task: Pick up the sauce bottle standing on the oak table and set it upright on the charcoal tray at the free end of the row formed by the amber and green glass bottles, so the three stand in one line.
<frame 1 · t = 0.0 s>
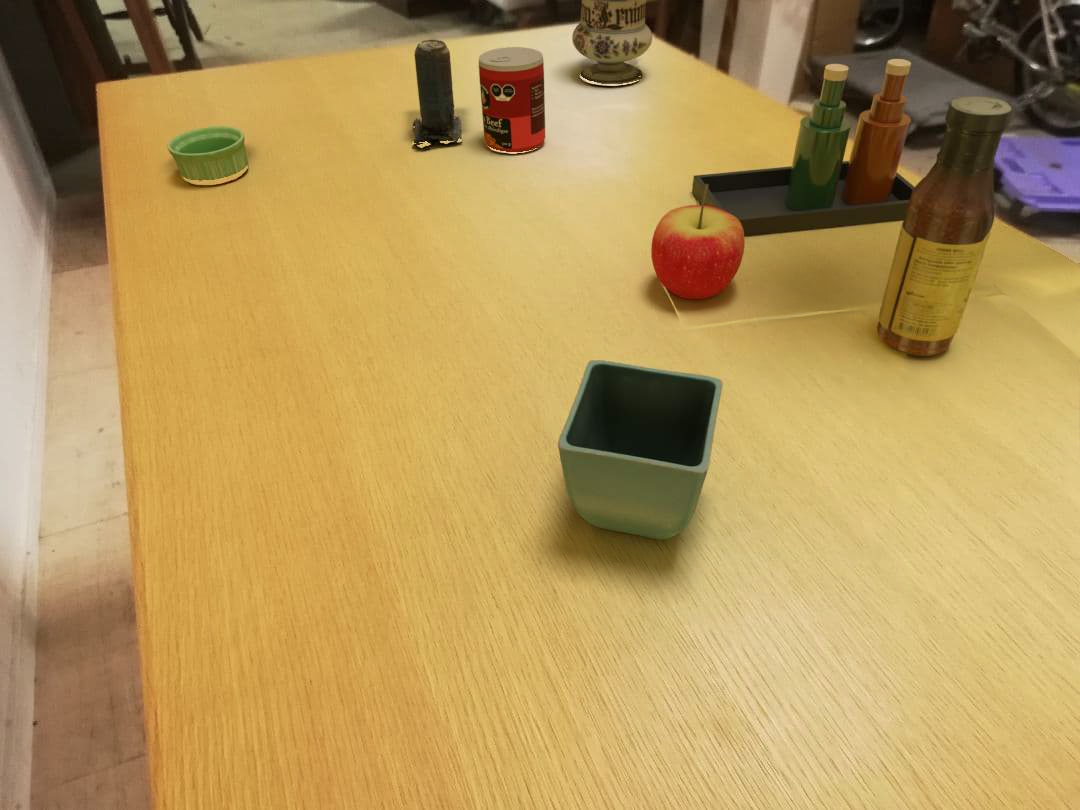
dark pillar on base: (437, 137, 106), on the table
amber bottle: (864, 198, 87), resting on tray
apothecary jar: (611, 78, 122), on the table
tray: (803, 207, 87), on the table
flower pot: (635, 511, 54), on the table
sauce bottle: (909, 339, 68), on the table
apple: (692, 292, 74), on the table
ramekin: (217, 175, 98), on the table
canned food: (515, 145, 103), on the table
green bottle: (808, 203, 86), resting on tray
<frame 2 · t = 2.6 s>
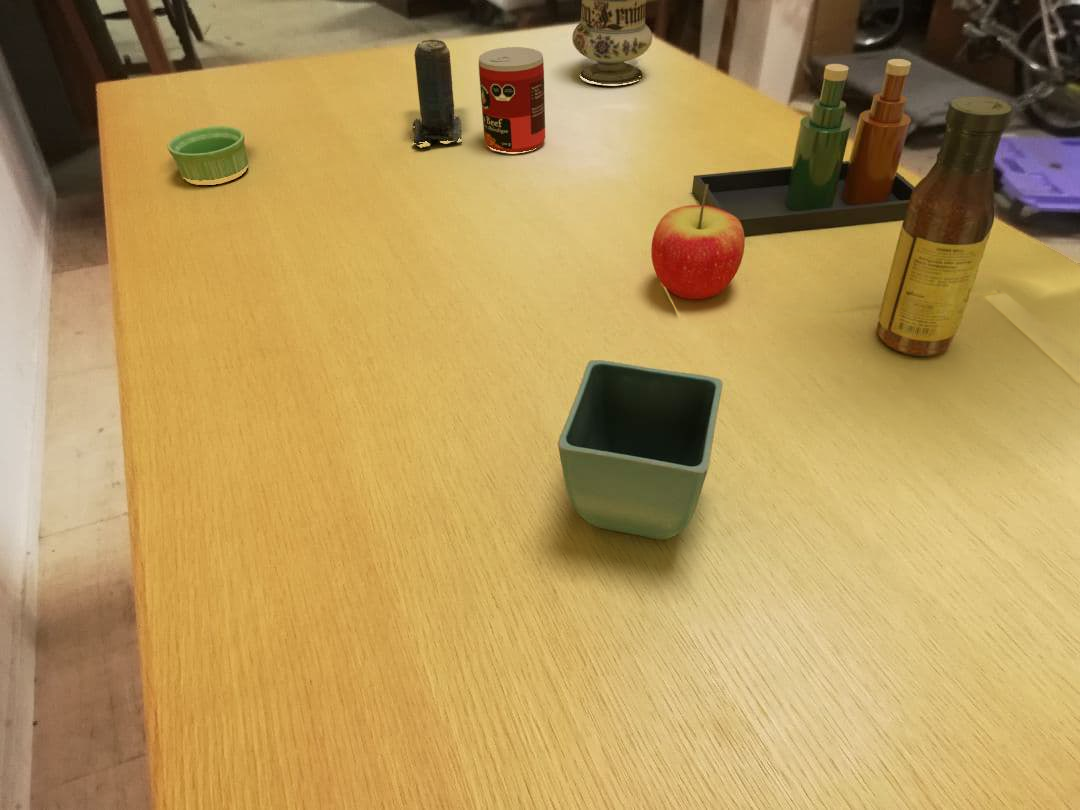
nothing on the table moved.
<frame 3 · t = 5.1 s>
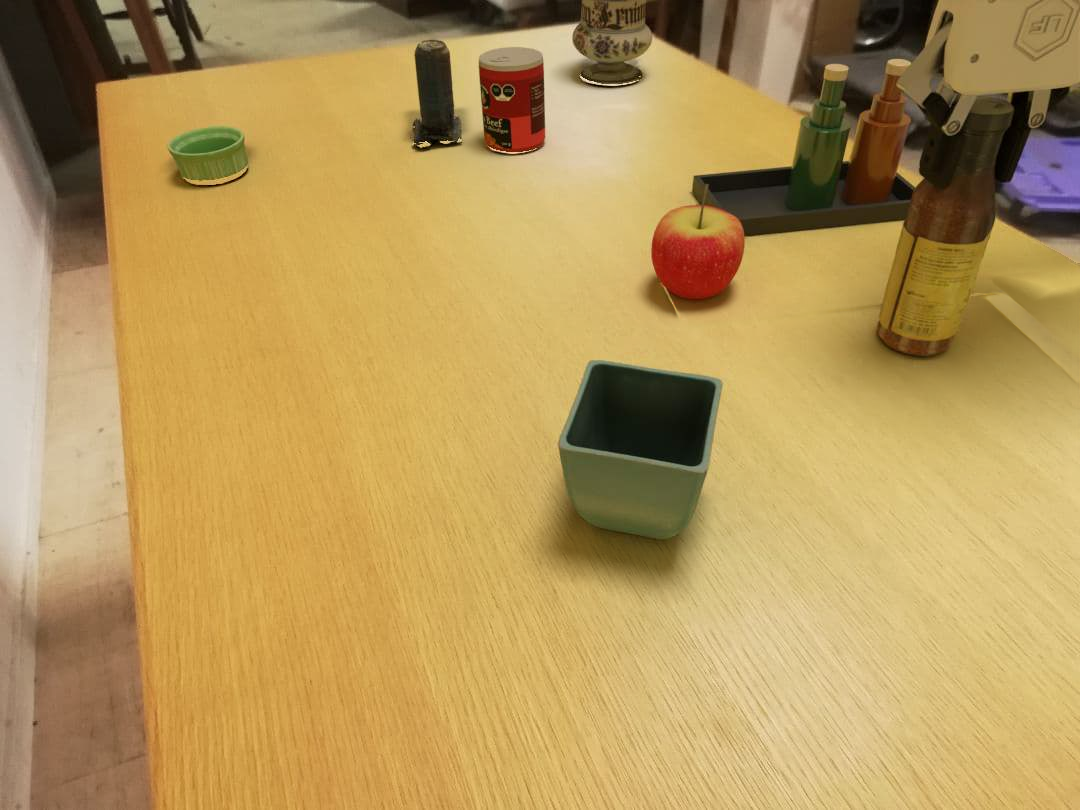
hand: (964, 175, 58), 15 cm above the table, tool pointing down, fingers closed on sauce bottle, 4 cm apart
sauce bottle: (909, 339, 68), on the table, touching gripper
everything else where it was.
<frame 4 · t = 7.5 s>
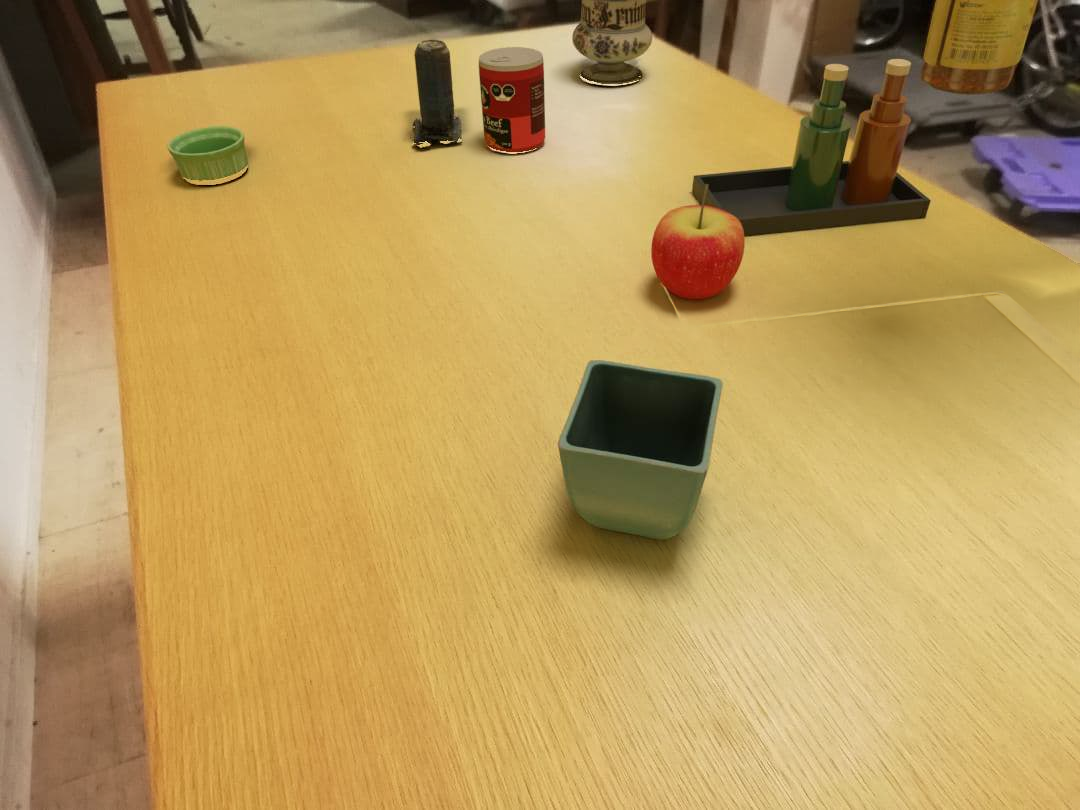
sauce bottle: (960, 85, 57), point 20 cm above the table, touching gripper
everything else where it was.
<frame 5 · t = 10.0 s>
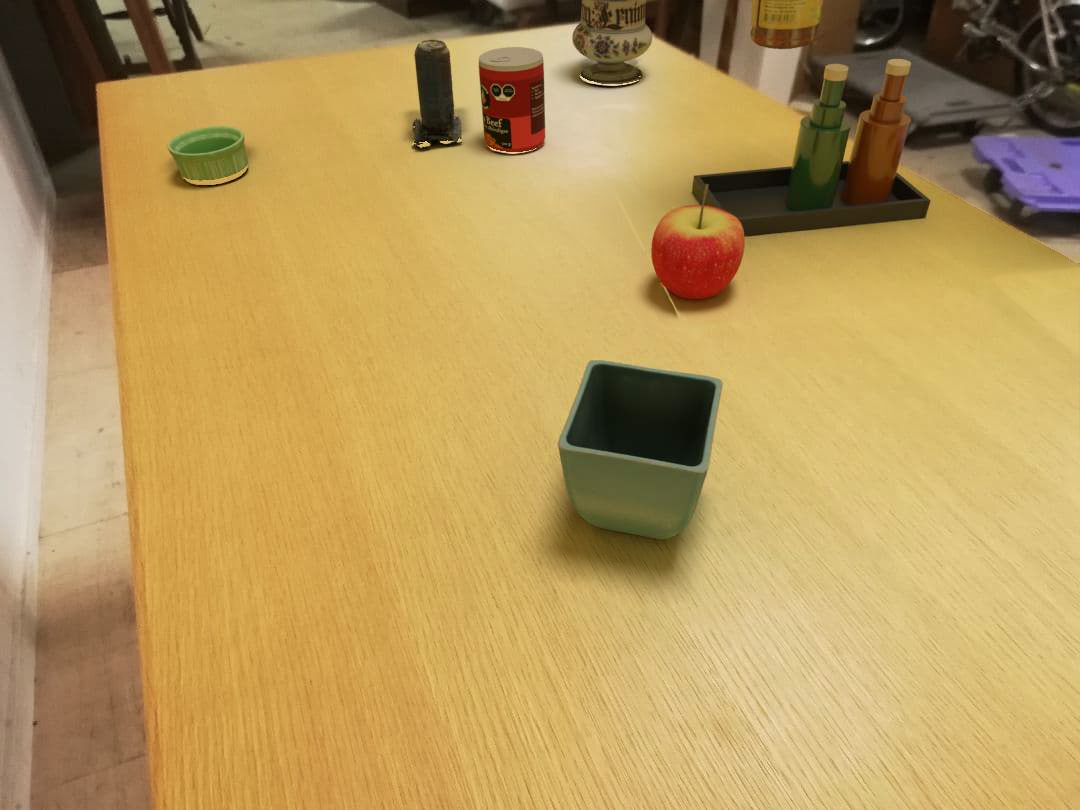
sauce bottle: (780, 44, 74), point 18 cm above the table, touching gripper
everything else where it was.
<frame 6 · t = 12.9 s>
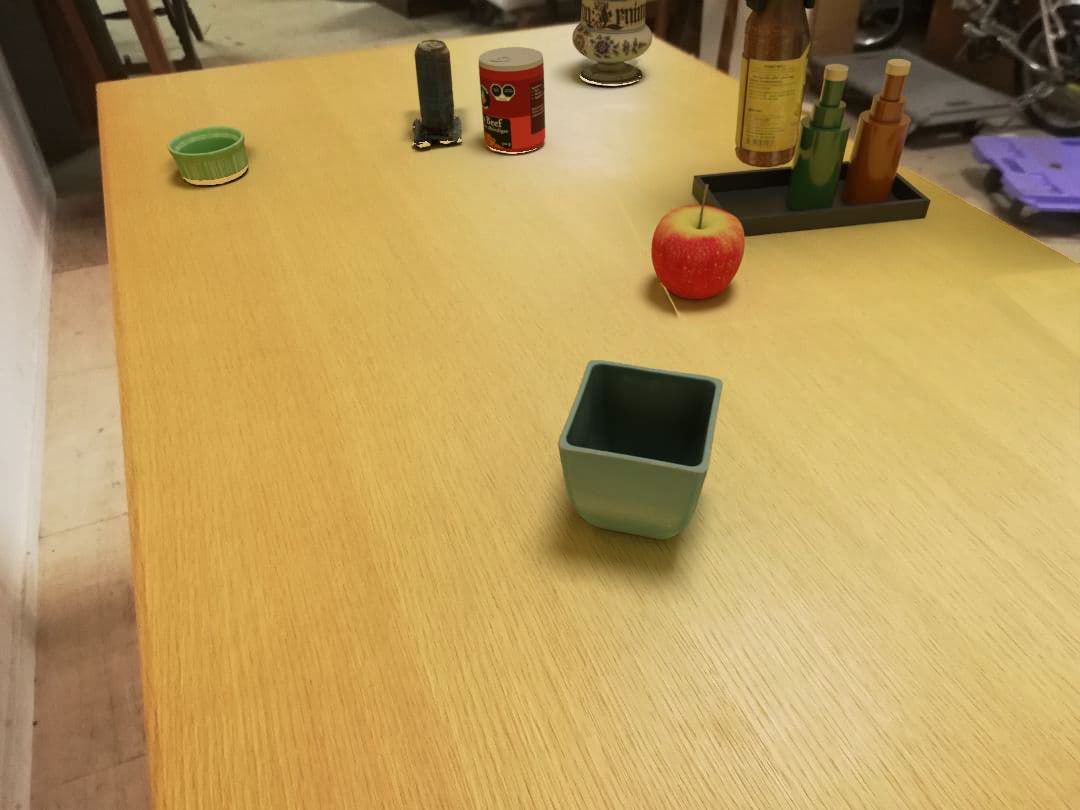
hand: (779, 4, 72), 21 cm above the table, tool pointing down, fingers closed on sauce bottle, 4 cm apart
sauce bottle: (762, 159, 82), point 6 cm above the table, touching gripper
everything else where it was.
when the fingers open (15 cm above the table, at t = 14.9 s): sauce bottle stays where it is, resting on tray.
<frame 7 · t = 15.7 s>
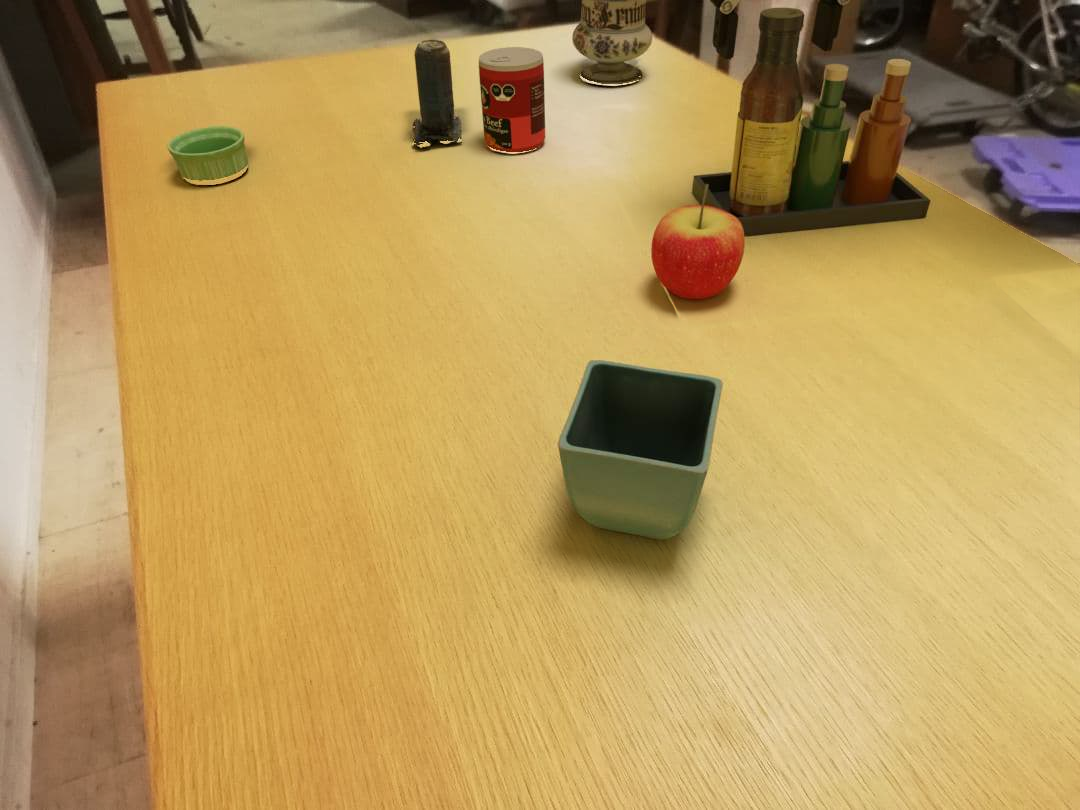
hand: (772, 51, 75), 17 cm above the table, tool pointing down, fingers open, 9 cm apart
sauce bottle: (754, 211, 86), resting on tray
everything else where it was.
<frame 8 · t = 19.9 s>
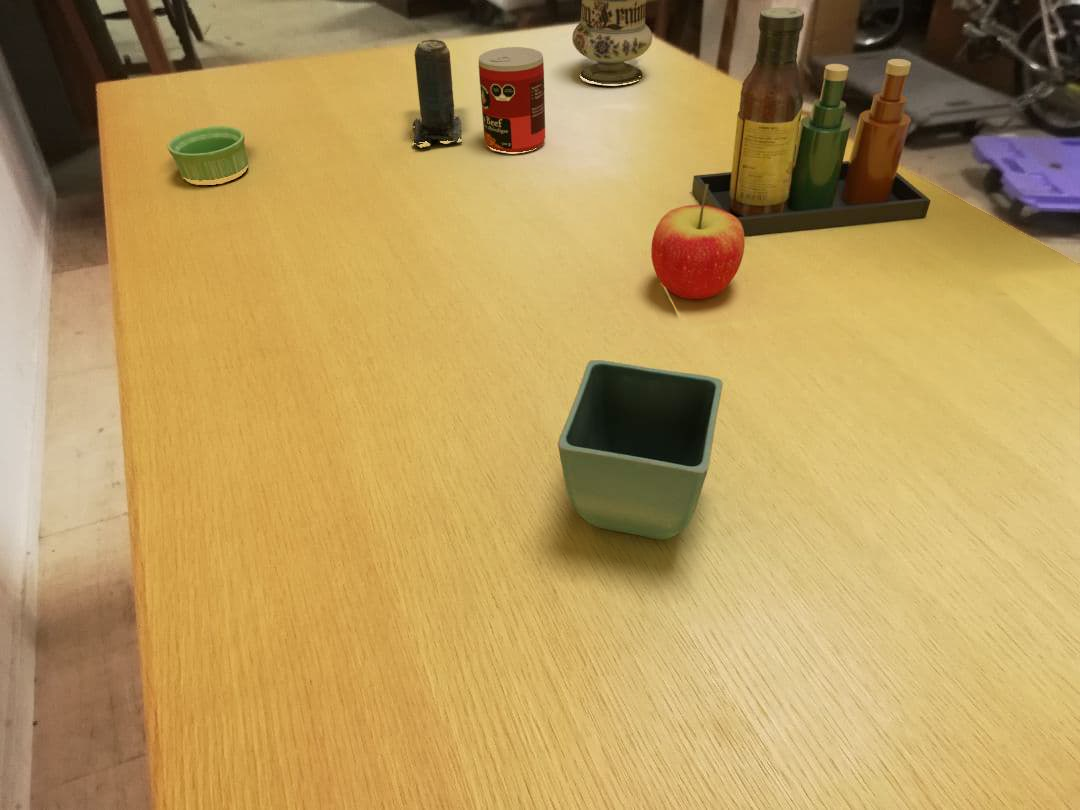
nothing on the table moved.
at the end: sauce bottle 0.8 cm from the target spot in the tray, point 0.2 cm above the tray's base; sauce bottle tilted 0°; the gripper is holding nothing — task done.
